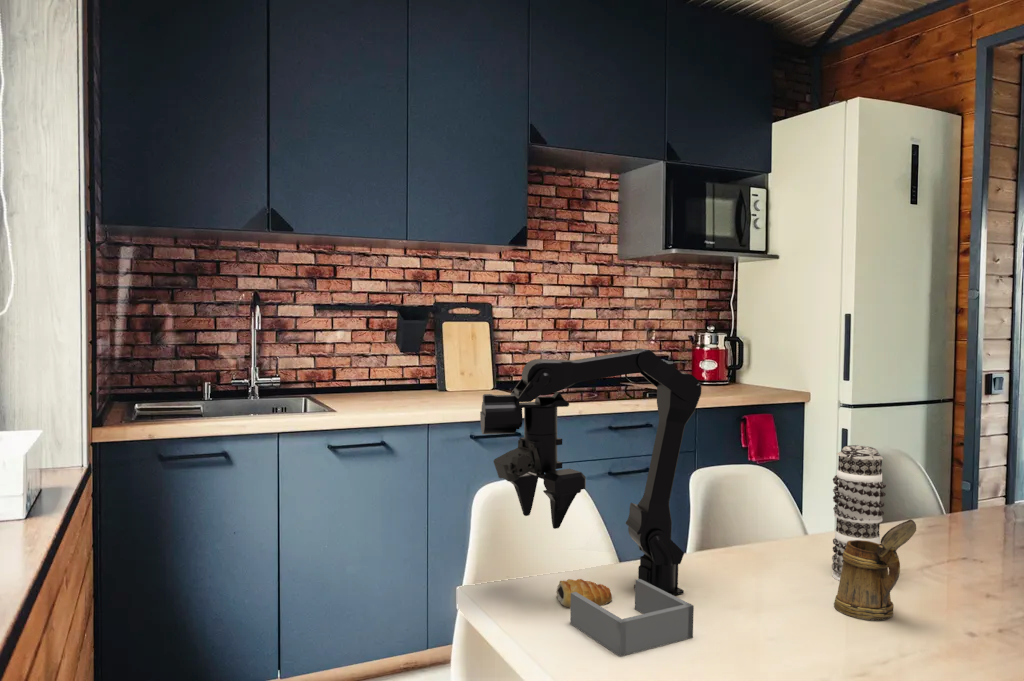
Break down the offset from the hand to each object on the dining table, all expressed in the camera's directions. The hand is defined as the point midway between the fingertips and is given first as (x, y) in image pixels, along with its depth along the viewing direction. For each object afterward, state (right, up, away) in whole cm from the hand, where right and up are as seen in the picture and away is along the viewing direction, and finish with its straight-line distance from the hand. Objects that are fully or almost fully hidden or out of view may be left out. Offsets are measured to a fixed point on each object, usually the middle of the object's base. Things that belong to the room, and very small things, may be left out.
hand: (540, 521), depth 133 cm
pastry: (+7, -14, -1) cm, 16 cm away
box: (+14, -14, -13) cm, 23 cm away
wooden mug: (+55, -15, -5) cm, 57 cm away
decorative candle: (+60, -14, +12) cm, 63 cm away
